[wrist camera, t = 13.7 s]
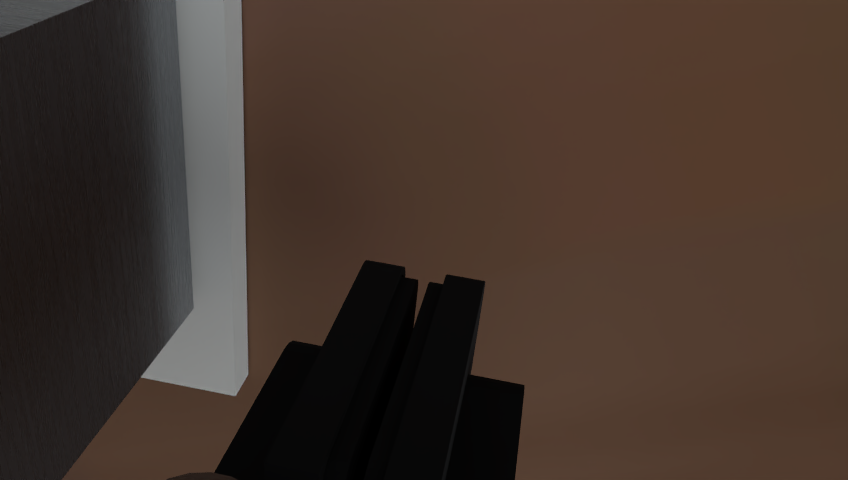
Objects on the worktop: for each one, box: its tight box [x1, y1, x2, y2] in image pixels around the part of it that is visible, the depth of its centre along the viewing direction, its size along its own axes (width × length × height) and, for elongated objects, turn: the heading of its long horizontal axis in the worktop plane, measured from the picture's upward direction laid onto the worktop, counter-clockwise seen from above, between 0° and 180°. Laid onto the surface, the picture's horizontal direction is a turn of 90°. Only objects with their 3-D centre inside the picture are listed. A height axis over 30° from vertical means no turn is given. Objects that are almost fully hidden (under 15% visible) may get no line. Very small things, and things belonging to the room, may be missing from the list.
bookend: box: [0, 0, 194, 480], centre depth 12 cm, size 7×2×6 cm, turn 174°
